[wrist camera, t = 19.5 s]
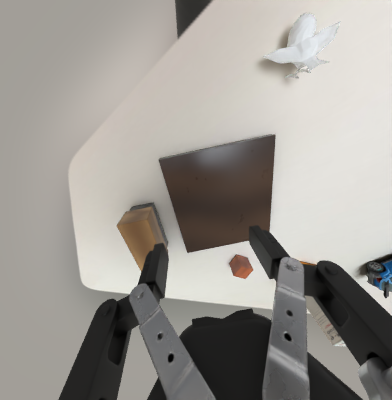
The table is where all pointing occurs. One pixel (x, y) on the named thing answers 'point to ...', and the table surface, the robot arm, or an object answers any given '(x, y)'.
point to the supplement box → (323, 321)
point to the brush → (142, 231)
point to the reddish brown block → (240, 266)
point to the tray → (221, 191)
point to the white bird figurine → (304, 44)
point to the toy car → (381, 275)
